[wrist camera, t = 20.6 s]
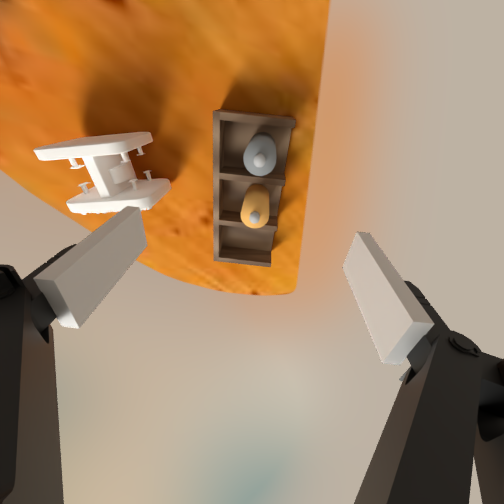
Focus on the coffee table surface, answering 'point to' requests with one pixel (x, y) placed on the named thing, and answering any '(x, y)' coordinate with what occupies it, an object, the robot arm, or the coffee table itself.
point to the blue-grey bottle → (260, 154)
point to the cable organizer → (108, 172)
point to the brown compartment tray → (245, 184)
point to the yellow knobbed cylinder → (255, 206)
